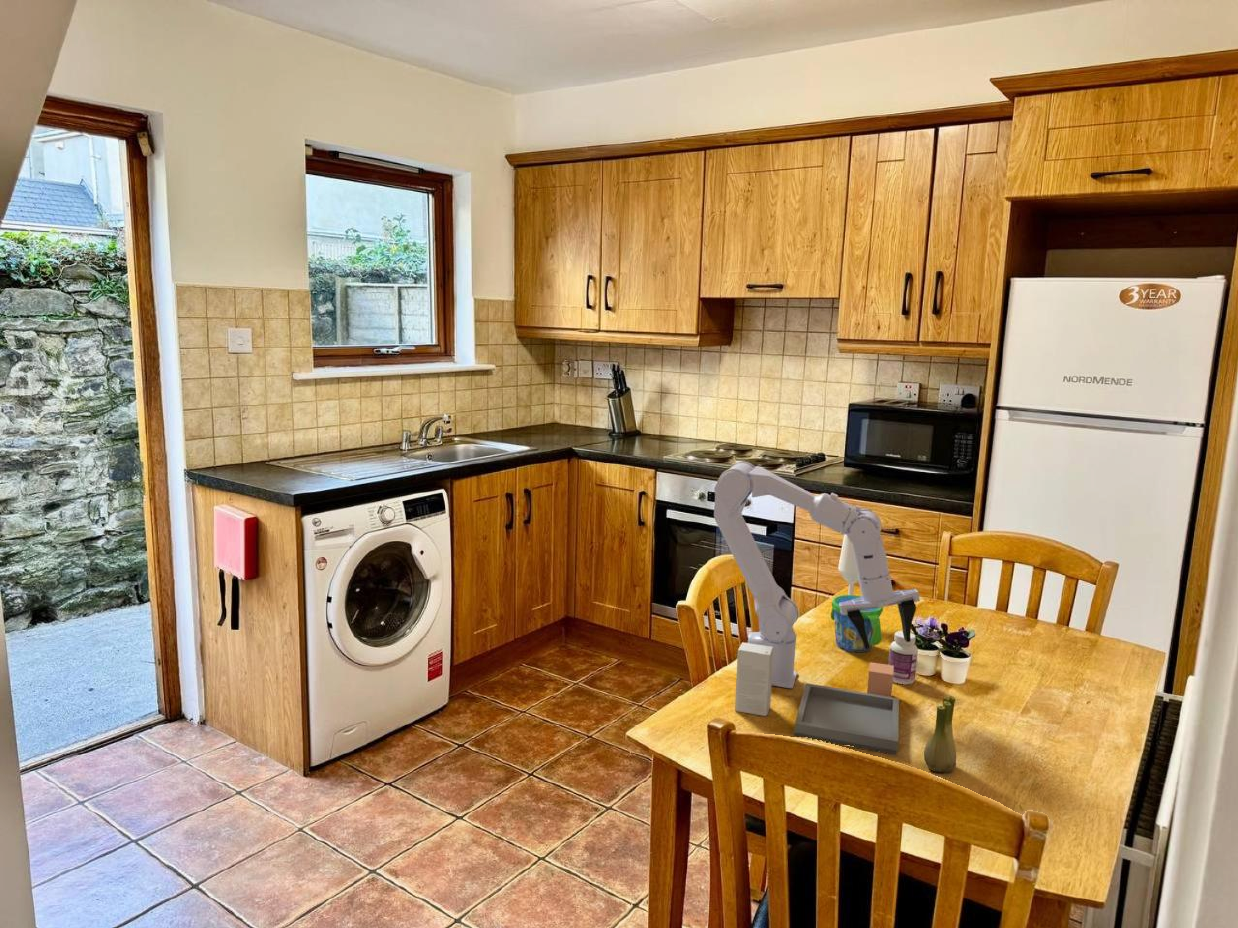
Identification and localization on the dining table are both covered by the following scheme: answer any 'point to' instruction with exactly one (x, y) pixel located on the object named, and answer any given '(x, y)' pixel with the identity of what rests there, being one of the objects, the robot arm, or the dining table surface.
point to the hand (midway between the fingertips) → (887, 643)
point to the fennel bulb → (942, 740)
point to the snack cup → (848, 632)
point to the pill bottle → (903, 658)
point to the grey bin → (849, 718)
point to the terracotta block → (880, 679)
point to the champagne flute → (848, 564)
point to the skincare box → (754, 679)
